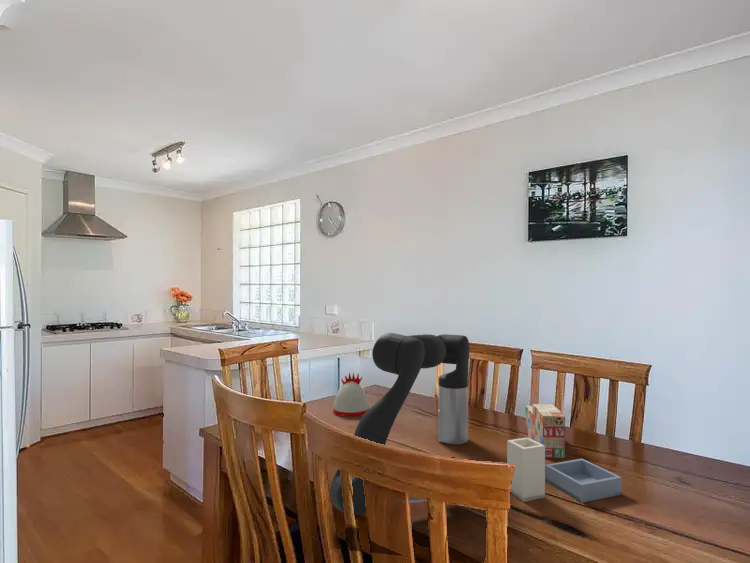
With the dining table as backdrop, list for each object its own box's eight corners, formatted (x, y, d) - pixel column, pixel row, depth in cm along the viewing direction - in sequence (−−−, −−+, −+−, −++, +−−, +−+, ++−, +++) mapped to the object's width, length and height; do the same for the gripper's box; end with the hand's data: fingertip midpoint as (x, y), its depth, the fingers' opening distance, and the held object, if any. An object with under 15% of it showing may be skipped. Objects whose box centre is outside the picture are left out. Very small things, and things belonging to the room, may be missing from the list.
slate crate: (581, 502, 101) (581, 485, 101) (544, 480, 113) (544, 464, 113) (621, 494, 105) (621, 477, 105) (582, 473, 117) (582, 458, 117)
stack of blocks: (525, 433, 149) (525, 396, 149) (544, 433, 148) (544, 396, 148) (542, 458, 127) (542, 414, 128) (565, 459, 127) (565, 415, 127)
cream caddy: (523, 501, 102) (523, 449, 102) (507, 490, 107) (507, 440, 107) (544, 497, 104) (544, 445, 104) (527, 486, 109) (527, 437, 109)
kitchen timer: (368, 417, 166) (368, 376, 166) (331, 416, 167) (331, 376, 167) (369, 406, 180) (369, 369, 180) (335, 406, 180) (335, 369, 181)
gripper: (438, 477, 90) (506, 466, 95) (409, 452, 103) (470, 443, 109) (438, 514, 90) (506, 501, 95) (409, 484, 103) (470, 474, 109)
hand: (486, 470), depth 102 cm, fingers open, 8 cm apart
